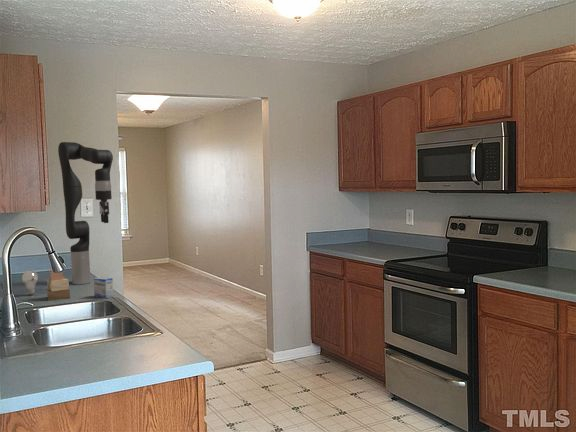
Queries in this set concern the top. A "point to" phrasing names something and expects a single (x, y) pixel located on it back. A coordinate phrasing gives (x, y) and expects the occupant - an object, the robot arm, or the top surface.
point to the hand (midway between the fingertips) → (104, 222)
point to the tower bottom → (58, 294)
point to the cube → (56, 275)
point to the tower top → (58, 284)
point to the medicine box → (103, 287)
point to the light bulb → (30, 281)
